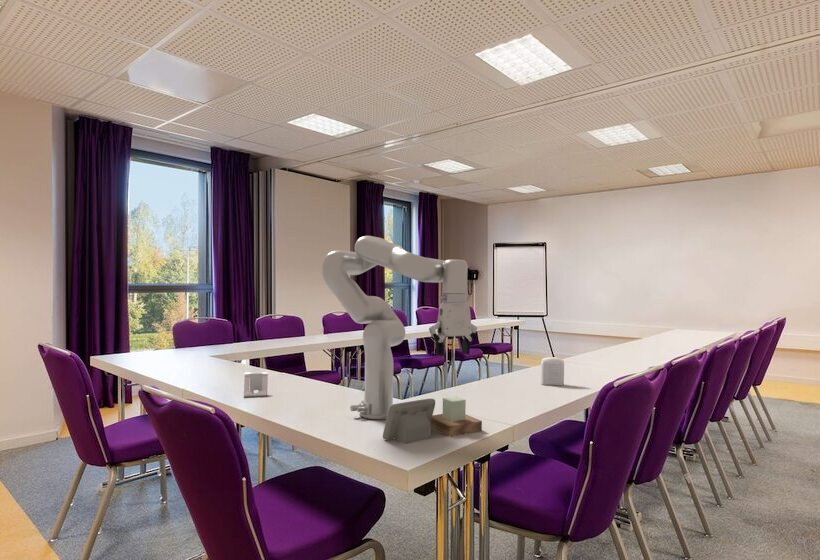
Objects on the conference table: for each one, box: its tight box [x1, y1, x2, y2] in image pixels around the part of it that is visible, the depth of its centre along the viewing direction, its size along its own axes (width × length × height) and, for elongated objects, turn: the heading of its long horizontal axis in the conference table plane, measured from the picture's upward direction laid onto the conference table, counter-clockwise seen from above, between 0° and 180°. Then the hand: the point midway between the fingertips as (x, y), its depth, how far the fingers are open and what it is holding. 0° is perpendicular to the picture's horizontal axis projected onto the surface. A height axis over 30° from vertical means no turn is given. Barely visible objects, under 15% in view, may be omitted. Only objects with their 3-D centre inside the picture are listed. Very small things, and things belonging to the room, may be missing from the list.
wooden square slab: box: [430, 413, 483, 437], centre depth 146 cm, size 12×12×3 cm
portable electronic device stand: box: [243, 371, 269, 398], centre depth 186 cm, size 9×8×8 cm
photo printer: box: [540, 356, 565, 387], centre depth 215 cm, size 10×4×12 cm, turn 87°
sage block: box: [442, 395, 467, 422], centre depth 146 cm, size 5×5×6 cm
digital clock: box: [382, 398, 436, 445], centre depth 137 cm, size 16×9×11 cm, turn 115°
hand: (452, 354), depth 148 cm, fingers open, 9 cm apart
